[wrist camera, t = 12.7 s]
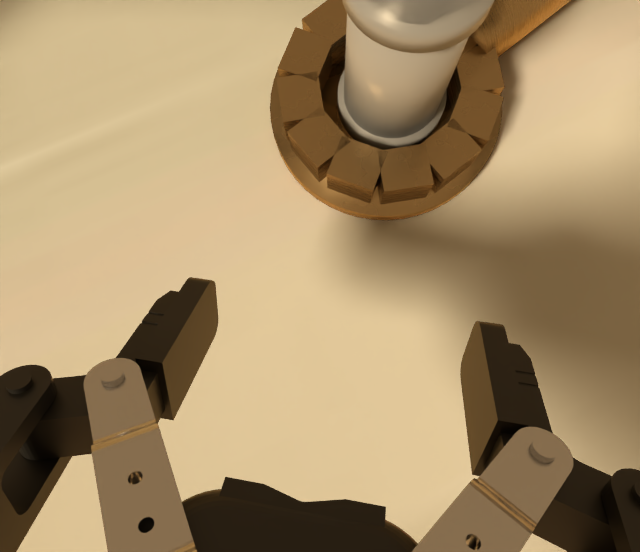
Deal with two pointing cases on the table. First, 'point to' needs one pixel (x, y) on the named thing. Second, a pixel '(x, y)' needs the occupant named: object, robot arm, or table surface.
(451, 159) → the bronze ring
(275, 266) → the table surface
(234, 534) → the robot arm
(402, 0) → the grey flanged cylinder
